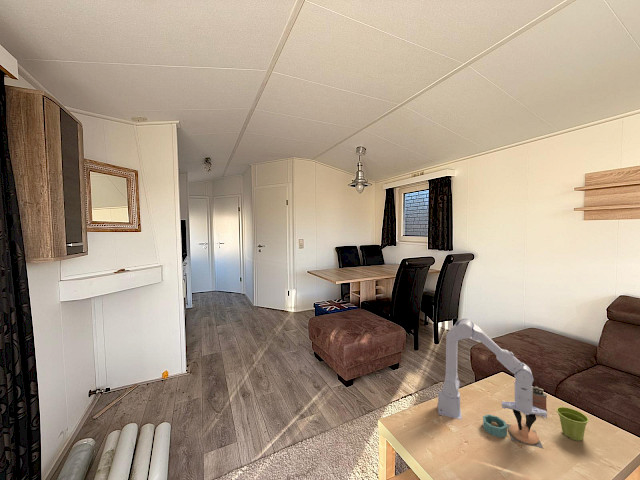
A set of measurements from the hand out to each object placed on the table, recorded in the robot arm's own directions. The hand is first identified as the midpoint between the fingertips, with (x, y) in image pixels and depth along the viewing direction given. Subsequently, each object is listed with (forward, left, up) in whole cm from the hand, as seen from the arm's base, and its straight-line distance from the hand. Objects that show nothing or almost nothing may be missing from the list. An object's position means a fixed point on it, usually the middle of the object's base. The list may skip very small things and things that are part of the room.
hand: (523, 429), depth 106 cm
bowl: (-10, -1, -3) cm, 10 cm away
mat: (0, 0, -3) cm, 3 cm away
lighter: (+10, +24, -3) cm, 26 cm away
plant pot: (+18, +9, -3) cm, 20 cm away
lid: (0, 0, -2) cm, 2 cm away
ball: (-10, -1, -2) cm, 10 cm away
